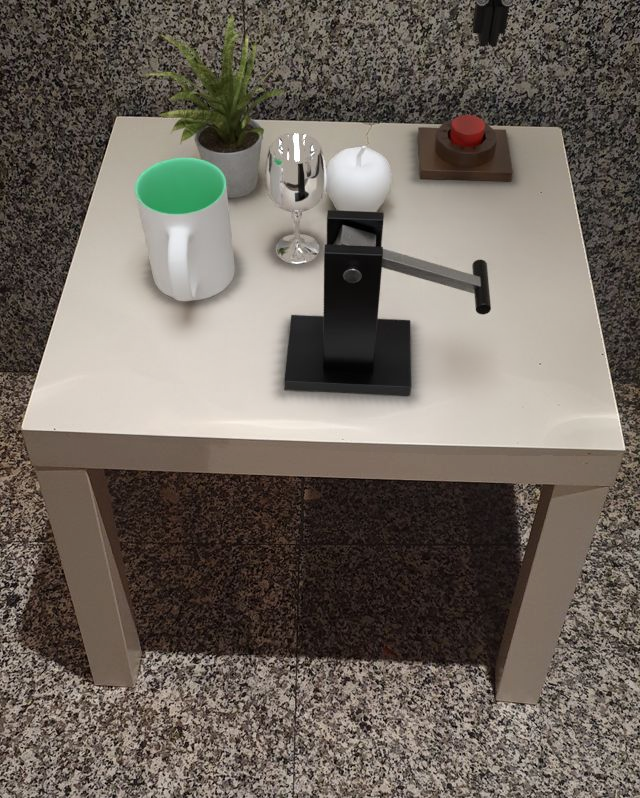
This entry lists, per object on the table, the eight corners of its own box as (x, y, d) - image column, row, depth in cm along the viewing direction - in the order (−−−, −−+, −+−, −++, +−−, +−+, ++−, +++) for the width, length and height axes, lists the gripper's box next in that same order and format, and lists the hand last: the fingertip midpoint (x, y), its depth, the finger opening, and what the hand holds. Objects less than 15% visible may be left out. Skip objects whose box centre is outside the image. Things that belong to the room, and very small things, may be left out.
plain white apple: (347, 238, 86) (349, 174, 79) (311, 200, 89) (311, 136, 83) (403, 215, 88) (410, 151, 82) (366, 179, 92) (369, 115, 85)
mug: (236, 328, 78) (226, 243, 70) (149, 333, 78) (129, 247, 69) (234, 242, 85) (225, 155, 77) (155, 245, 85) (137, 159, 77)
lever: (479, 276, 70) (492, 256, 69) (483, 321, 67) (497, 301, 65) (333, 233, 68) (343, 211, 66) (330, 278, 64) (340, 256, 63)
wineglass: (335, 241, 85) (338, 140, 76) (309, 275, 82) (307, 175, 73) (286, 223, 87) (283, 122, 78) (258, 257, 84) (251, 155, 74)
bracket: (409, 328, 78) (425, 201, 66) (409, 396, 73) (427, 271, 61) (291, 323, 78) (287, 195, 67) (284, 390, 73) (278, 264, 62)
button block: (504, 138, 96) (508, 115, 94) (511, 181, 92) (516, 158, 89) (417, 135, 97) (419, 113, 94) (419, 179, 92) (422, 156, 89)
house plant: (170, 138, 96) (147, -3, 83) (290, 136, 97) (286, -5, 84) (159, 219, 87) (132, 75, 75) (291, 217, 88) (287, 73, 75)
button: (481, 128, 93) (483, 115, 92) (484, 148, 91) (486, 134, 90) (449, 128, 93) (450, 114, 92) (450, 147, 91) (452, 133, 90)
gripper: (430, -163, 66) (411, 58, 80) (622, -161, 65) (568, 61, 80) (426, -195, 70) (409, 19, 85) (606, -193, 70) (558, 22, 84)
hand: (486, 39), depth 82 cm, fingers closed
